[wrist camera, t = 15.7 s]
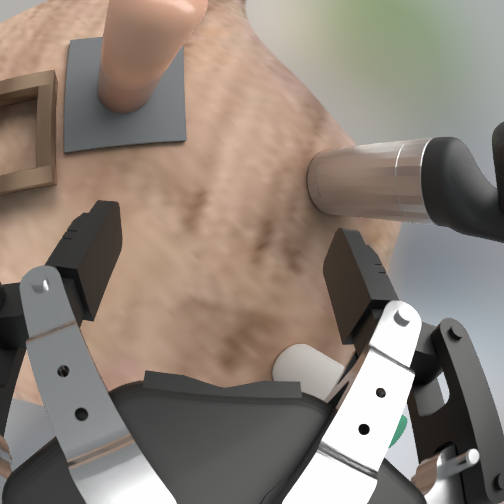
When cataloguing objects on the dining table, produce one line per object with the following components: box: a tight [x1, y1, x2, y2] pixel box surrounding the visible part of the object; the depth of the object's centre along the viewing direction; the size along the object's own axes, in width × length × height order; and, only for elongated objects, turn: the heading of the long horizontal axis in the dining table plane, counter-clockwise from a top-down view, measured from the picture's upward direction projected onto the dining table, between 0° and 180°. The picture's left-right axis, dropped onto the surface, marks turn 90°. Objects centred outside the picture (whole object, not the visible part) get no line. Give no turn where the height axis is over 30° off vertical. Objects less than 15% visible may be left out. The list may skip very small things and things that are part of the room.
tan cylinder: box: [97, 0, 208, 113], centre depth 19 cm, size 8×6×16 cm
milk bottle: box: [272, 344, 407, 448], centre depth 35 cm, size 8×8×20 cm
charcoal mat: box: [64, 37, 187, 153], centre depth 26 cm, size 13×13×1 cm
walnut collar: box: [0, 70, 58, 196], centre depth 20 cm, size 11×11×4 cm
